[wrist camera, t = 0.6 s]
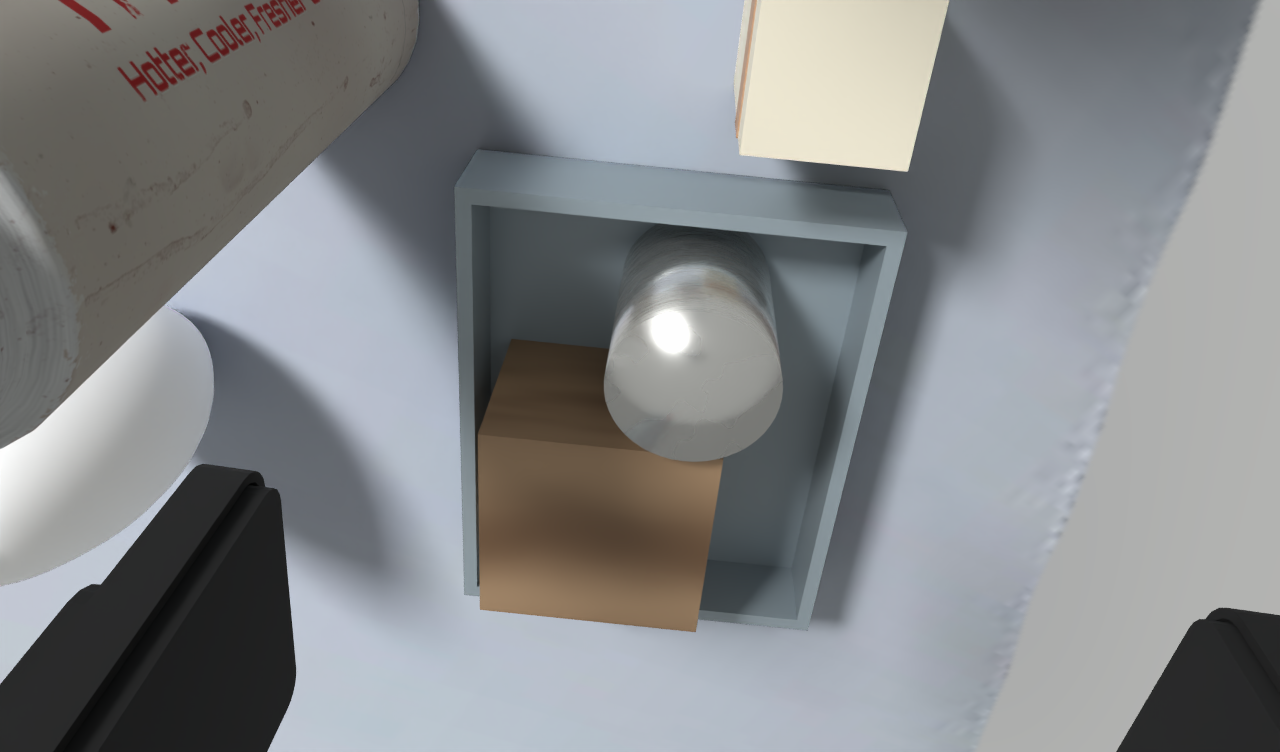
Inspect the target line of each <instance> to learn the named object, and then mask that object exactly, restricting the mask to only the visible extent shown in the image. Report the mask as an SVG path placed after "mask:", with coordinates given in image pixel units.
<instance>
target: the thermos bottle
mask: <svg viewBox="0 0 1280 752" xmlns="http://www.w3.org/2000/svg"><path fill="white" fill-rule="evenodd" d="M418 27H419V0H0V449H2V448H4V447H5V446H7V445H9V444H11V443H13V442H14V441H16V440H18V439H20V438H22V437H23V436H25V435H27V434H29V433H31V432H32V431H34V430H35V429H36V428H37V427H38V426H39V425H40V424H42V423H43V422H44V421H45V420H46V419H47V418H48V417H49V416H50V415H51V414H52V413H53V412H54V411H55V410H56V409H57V408H58V407H59V406H60V405H61V404H62V403H63V402H64V401H65V400H66V399H67V398H68V397H69V396H71V395H72V394H73V393H74V392H75V391H76V390H77V389H78V388H79V387H80V386H81V385H82V384H83V383H84V382H85V381H86V380H87V379H88V378H89V377H90V376H91V375H92V374H93V373H94V372H95V371H96V370H97V369H98V368H99V367H101V366H102V365H103V364H104V363H105V362H106V361H107V360H108V359H109V358H110V357H111V356H112V355H113V354H114V353H115V352H116V351H117V350H118V349H119V348H120V347H121V346H122V345H123V344H124V343H125V342H126V341H127V340H128V339H129V338H131V337H132V336H133V335H134V334H135V333H136V332H137V331H138V330H139V329H140V328H141V327H142V326H143V325H144V324H145V323H146V322H147V321H148V320H149V319H150V318H151V317H152V316H153V315H154V314H155V313H156V312H157V311H158V310H159V309H161V308H162V307H163V306H164V305H165V304H166V303H167V302H168V301H169V300H170V299H171V298H172V297H173V296H174V295H175V294H176V293H177V292H178V291H179V290H180V289H181V288H182V287H183V286H184V285H185V284H186V283H187V282H188V281H189V280H191V279H192V278H193V277H194V276H195V275H196V274H197V273H198V272H199V271H200V270H201V269H202V268H203V267H204V266H205V265H206V264H207V263H208V262H209V261H210V260H211V259H212V258H213V257H214V256H215V255H216V254H217V253H218V252H219V251H221V250H222V249H223V248H224V247H225V246H226V245H227V244H228V243H229V242H230V241H231V240H232V239H233V238H234V237H235V236H236V235H237V234H238V233H239V232H240V231H241V230H242V229H243V228H244V227H245V226H246V225H247V224H248V223H249V222H251V221H252V220H253V219H254V218H255V217H256V216H257V215H258V214H259V213H260V212H261V211H262V210H263V209H264V208H265V207H266V206H267V205H268V204H269V203H270V202H271V201H272V200H273V199H274V198H275V197H276V196H277V195H278V194H279V193H281V192H282V191H283V190H284V189H285V188H286V187H287V186H288V185H289V184H290V183H291V182H292V181H293V180H294V179H295V178H296V177H297V176H298V175H299V174H300V173H301V172H302V171H303V170H304V169H305V168H306V167H307V166H308V165H309V164H311V163H312V162H313V161H314V160H315V159H316V158H317V157H318V156H319V155H320V154H321V153H322V152H323V151H324V150H325V149H326V148H327V147H328V146H329V145H330V144H331V143H332V142H333V141H334V140H335V139H336V138H337V137H338V136H339V135H341V134H342V133H343V132H344V131H345V130H346V129H347V128H348V127H349V126H350V125H351V124H352V123H353V122H354V121H355V120H356V119H357V118H358V117H359V116H360V115H361V114H362V113H363V112H364V111H365V110H366V109H367V108H368V107H369V106H371V105H372V104H373V103H374V102H375V101H376V100H377V99H378V98H379V97H380V96H381V95H382V94H383V93H384V92H385V91H386V90H387V89H388V88H389V87H390V86H391V85H392V84H393V83H394V82H395V81H396V80H397V79H398V78H399V77H400V75H401V73H402V72H403V70H404V69H405V67H406V65H407V64H408V62H409V61H410V58H411V55H412V52H413V50H414V47H415V44H416V41H417V34H418Z"/></svg>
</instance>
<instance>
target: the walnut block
mask: <svg viewBox="0 0 1280 752" xmlns="http://www.w3.org/2000/svg"><path fill="white" fill-rule="evenodd" d="M608 353H609V349H606V348H597V347H587V346H577V345H567V344H557V343H547V342H538V341H528V340H518V339H511V342H510V345H509V347H508V350H507V353H506V356H505V359H504V362H503V364H502V367H501V370H500V373H499V376H498V379H497V381H496V384H495V387H494V390H493V393H492V396H491V398H490V401H489V404H488V407H487V410H486V413H485V415H484V418H483V421H482V424H481V427H480V430H479V432H478V492H479V570H480V610H489V611H499V612H508V613H518V614H527V615H537V616H546V617H556V618H566V619H575V620H585V621H594V622H604V623H613V624H623V625H633V626H642V627H652V628H661V629H671V630H681V631H690V632H696V627H697V621H698V614H699V608H700V602H701V596H702V590H703V583H704V577H705V571H706V565H707V558H708V552H709V546H710V540H711V534H712V527H713V521H714V515H715V509H716V502H717V496H718V490H719V484H720V478H721V471H722V465H723V458H720V459H716V460H710V461H699V462H690V461H679V460H673V459H669V458H665V457H661V456H659V455H656V454H654V453H651V452H649V451H647V450H645V449H643V448H642V447H640V446H639V445H637V444H636V443H634V442H633V441H632V440H631V439H629V438H628V437H627V436H626V435H625V434H624V433H623V432H622V431H621V430H620V428H619V427H618V426H617V424H616V423H615V421H614V420H613V418H612V416H611V414H610V412H609V410H608V407H607V404H606V401H605V395H604V377H605V371H606V365H607V359H608Z"/></svg>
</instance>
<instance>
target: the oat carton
mask: <svg viewBox="0 0 1280 752" xmlns="http://www.w3.org/2000/svg"><path fill="white" fill-rule="evenodd" d="M948 4H949V0H745V1H744V8H743V16H742V23H741V31H740V39H739V46H738V54H737V61H736V69H735V76H734V92H735V104H736V120H735V128H736V138H738V142H739V154H740V155H745V156H755V157H765V158H775V159H785V160H795V161H805V162H815V163H826V164H836V165H846V166H856V167H866V168H876V169H886V170H896V171H906V172H908V169H909V165H910V161H911V157H912V152H913V148H914V144H915V140H916V136H917V132H918V128H919V124H920V119H921V115H922V111H923V107H924V103H925V99H926V95H927V90H928V86H929V82H930V78H931V74H932V70H933V66H934V62H935V57H936V53H937V49H938V45H939V41H940V37H941V33H942V28H943V24H944V20H945V16H946V12H947V8H948Z"/></svg>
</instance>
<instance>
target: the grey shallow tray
mask: <svg viewBox="0 0 1280 752" xmlns="http://www.w3.org/2000/svg"><path fill="white" fill-rule="evenodd" d="M454 201H455V241H456V281H457V322H458V362H459V402H460V442H461V482H462V522H463V562H464V595H471V596H480V570H479V492H478V432H479V430H480V427H481V424H482V421H483V418H484V415H485V413H486V410H487V407H488V404H489V401H490V398H491V396H492V393H493V390H494V387H495V384H496V381H497V379H498V376H499V373H500V370H501V367H502V364H503V362H504V359H505V356H506V353H507V350H508V347H509V345H510V342H511V339H518V340H528V341H538V342H547V343H557V344H567V345H577V346H587V347H597V348H606V349H609V348H610V342H611V336H612V330H613V325H614V319H615V313H616V307H617V302H618V296H619V290H620V284H621V279H622V273H623V267H624V264H625V261H626V258H627V256H628V254H629V251H630V250H631V248H632V247H633V245H634V244H635V242H636V241H637V240H638V239H639V238H640V237H641V236H642V235H643V234H644V233H645V232H646V231H647V230H649V229H650V228H652V227H653V226H655V225H656V224H658V223H661V224H671V225H681V226H691V227H701V228H711V229H721V230H731V231H741V232H747V233H748V234H749V235H750V236H751V237H752V238H753V239H754V240H755V241H756V243H757V244H758V245H759V247H760V248H761V250H762V252H763V254H764V256H765V258H766V261H767V264H768V268H769V273H770V282H771V290H772V298H773V306H774V314H775V322H776V330H777V338H778V347H779V355H780V363H781V371H782V379H783V394H782V401H781V404H780V408H779V410H778V413H777V415H776V417H775V419H774V421H773V422H772V424H771V425H770V427H769V428H768V429H767V430H766V432H765V433H764V434H763V435H762V436H761V437H760V438H759V439H757V440H756V441H755V442H754V443H752V444H751V445H749V446H748V447H747V448H745V449H743V450H741V451H739V452H737V453H735V454H732V455H730V456H727V457H723V465H722V471H721V478H720V484H719V490H718V496H717V502H716V509H715V515H714V521H713V527H712V534H711V540H710V546H709V552H708V558H707V565H706V571H705V577H704V583H703V590H702V596H701V602H700V608H699V614H698V619H701V620H711V621H720V622H730V623H739V624H749V625H759V626H768V627H778V628H787V629H797V630H807V631H808V627H809V623H810V619H811V615H812V611H813V607H814V603H815V599H816V595H817V591H818V587H819V583H820V579H821V575H822V571H823V567H824V563H825V559H826V555H827V551H828V547H829V543H830V539H831V535H832V532H833V528H834V524H835V520H836V516H837V512H838V508H839V504H840V500H841V496H842V492H843V488H844V484H845V480H846V476H847V472H848V468H849V464H850V460H851V456H852V452H853V448H854V444H855V440H856V436H857V432H858V428H859V424H860V420H861V416H862V412H863V408H864V404H865V400H866V396H867V392H868V388H869V384H870V380H871V376H872V372H873V368H874V364H875V360H876V356H877V352H878V348H879V344H880V340H881V336H882V332H883V328H884V324H885V320H886V316H887V312H888V308H889V304H890V300H891V296H892V292H893V288H894V284H895V280H896V276H897V272H898V268H899V264H900V260H901V256H902V252H903V248H904V244H905V240H906V236H907V230H906V228H905V225H904V223H903V221H902V218H901V216H900V214H899V211H898V209H897V207H896V205H895V202H894V200H893V198H892V195H891V193H890V191H889V190H881V189H871V188H861V187H851V186H841V185H830V184H820V183H810V182H800V181H790V180H780V179H770V178H760V177H750V176H740V175H730V174H720V173H710V172H700V171H690V170H680V169H670V168H660V167H650V166H640V165H630V164H620V163H610V162H600V161H590V160H580V159H570V158H560V157H550V156H540V155H530V154H520V153H510V152H500V151H490V150H480V149H477V151H476V153H475V154H474V156H473V157H472V159H471V161H470V162H469V164H468V165H467V167H466V169H465V170H464V172H463V173H462V175H461V177H460V178H459V180H458V181H457V183H456V185H455V186H454Z"/></svg>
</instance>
